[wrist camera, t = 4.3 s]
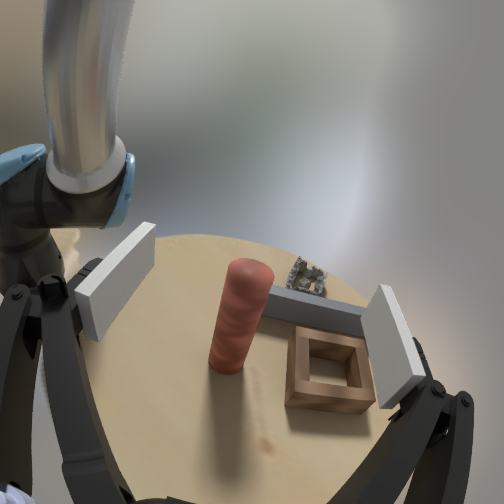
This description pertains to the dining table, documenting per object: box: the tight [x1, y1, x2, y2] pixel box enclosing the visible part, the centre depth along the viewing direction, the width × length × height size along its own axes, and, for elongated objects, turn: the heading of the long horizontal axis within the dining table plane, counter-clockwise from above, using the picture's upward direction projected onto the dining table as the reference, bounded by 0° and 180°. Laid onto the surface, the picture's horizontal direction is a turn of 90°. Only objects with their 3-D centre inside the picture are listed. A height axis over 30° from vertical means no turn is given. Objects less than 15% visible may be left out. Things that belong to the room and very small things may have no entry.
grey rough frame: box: [286, 256, 327, 297], centre depth 57 cm, size 11×8×4 cm
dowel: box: [209, 258, 274, 375], centre depth 34 cm, size 5×5×16 cm
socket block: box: [284, 326, 376, 414], centre depth 37 cm, size 12×12×4 cm
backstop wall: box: [262, 285, 366, 338], centre depth 48 cm, size 26×2×5 cm, turn 83°
